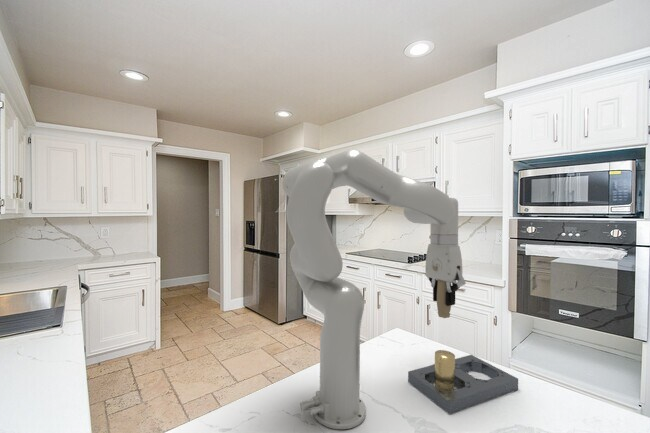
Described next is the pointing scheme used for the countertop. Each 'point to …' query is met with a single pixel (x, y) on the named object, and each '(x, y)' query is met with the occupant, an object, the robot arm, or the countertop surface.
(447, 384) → the brass pin
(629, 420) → the countertop surface
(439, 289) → the handle
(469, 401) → the bolt plate
